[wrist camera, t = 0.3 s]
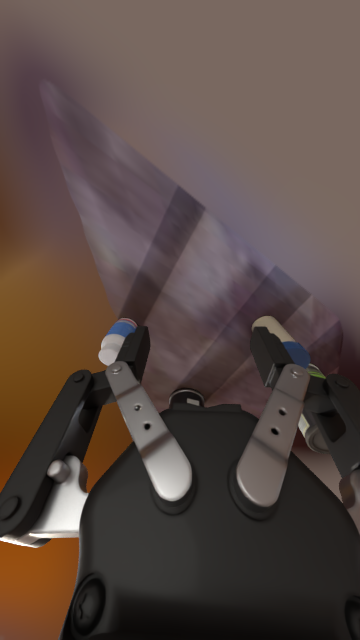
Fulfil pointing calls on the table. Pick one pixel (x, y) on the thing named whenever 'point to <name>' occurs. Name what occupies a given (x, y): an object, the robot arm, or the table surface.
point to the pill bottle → (115, 340)
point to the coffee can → (312, 422)
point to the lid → (297, 353)
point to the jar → (273, 328)
